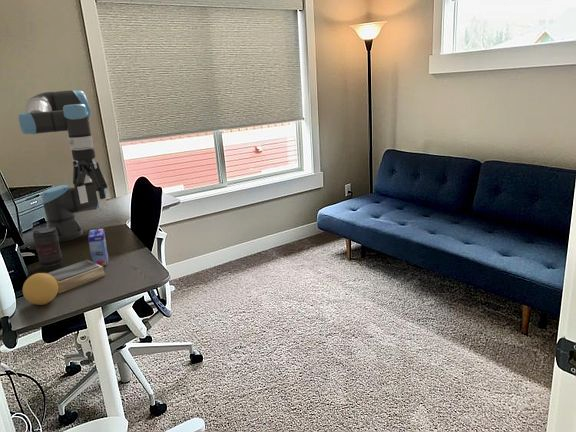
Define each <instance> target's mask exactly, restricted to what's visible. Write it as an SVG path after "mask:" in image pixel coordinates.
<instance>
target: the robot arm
mask: <svg viewBox="0 0 576 432" xmlns="http://www.w3.org/2000/svg"><path fill="white" fill-rule="evenodd" d="M92 115H93V114H92V110H91V107H90V103H89V101H88V98H87V96H86V93H85V92H84V91H82V90H76V89H75V90H74V89H72V90H58V91H46V92H41V93H38V94H36V95H34V96H31V97H30V98H29V99H28V100H27V102H26V103H25V113H24V112H23V113H19V114H18V123H19V127H20V130H21V132H22V134H23V135H35V134H36V135H37V134H47V133H59V132H66V134H67V139H68V143H69V148H70V149H69V150H70V153H71V159H72V165H73V171H72V172H73V173H72V174H73V175H72V184H73V186H74V187H70V186H69V185H68V184H64V185H56V186H54V187H53V186H52V187H50V188H48V189H46V190H43V191H42V194H41V200H42V201H41V202H42V204H43V209H44V214H45V218H46V222H47V226H46V227H55V228H56V231H57V234H58V238H59V243H63V242H68V241H69V242H70V241H72V240H76V239H78V238H80V237H81V236H83V234H84V233H83V228H82V226H81V225H80V223H79V222H78V221H77V218H76V214H77V213H82V212H83V213H84V212H88V211H97V210H100V209H103V208H104V209H105V208H106V207H108V204H107V188H108V185H107V183H106V182H107V181H106V180H105V178H104V175H103V173H102V171H101V167H100V165H99V162H98V161H97V162H95V160H94V159H95V158H96V151H95V148H94V142H93V141H94V140H93V135H92V132H91V125H90V117H91V116H92Z"/></svg>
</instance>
